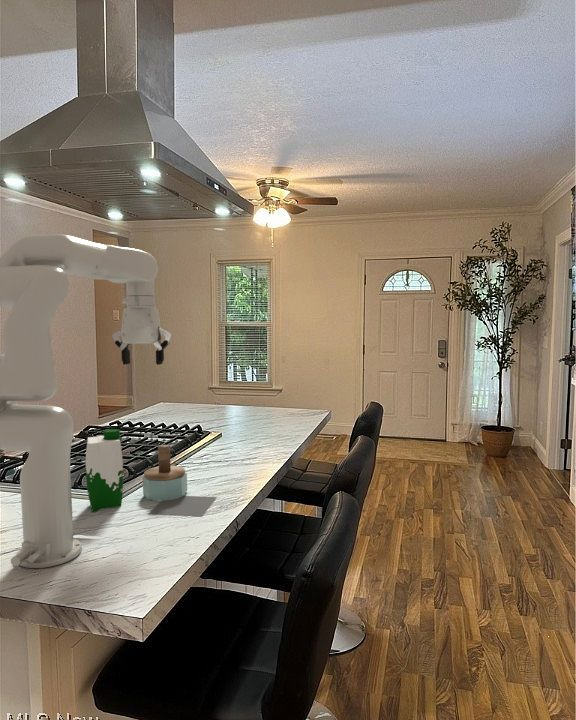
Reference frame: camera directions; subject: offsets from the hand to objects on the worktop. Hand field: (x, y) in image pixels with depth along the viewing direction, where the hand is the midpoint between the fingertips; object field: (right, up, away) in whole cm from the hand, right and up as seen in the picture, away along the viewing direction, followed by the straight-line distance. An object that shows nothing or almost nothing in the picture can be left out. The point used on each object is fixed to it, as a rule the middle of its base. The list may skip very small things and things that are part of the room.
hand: (143, 364), depth 150 cm
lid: (+7, -31, -2) cm, 31 cm away
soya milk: (-7, -38, -9) cm, 39 cm away
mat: (+14, -37, -11) cm, 41 cm away
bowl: (+7, -37, -2) cm, 37 cm away
